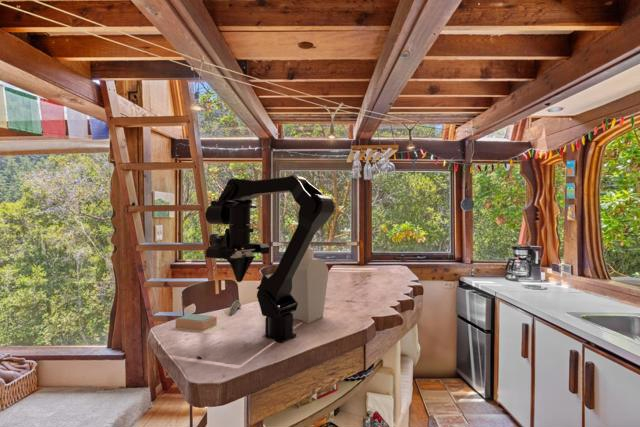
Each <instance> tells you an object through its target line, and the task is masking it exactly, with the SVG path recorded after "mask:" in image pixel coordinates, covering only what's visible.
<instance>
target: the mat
mask: <svg viewBox="0 0 640 427" xmlns="http://www.w3.org/2000/svg"><path fill="white" fill-rule="evenodd" d="M229 325H230V323H225V322H223V323H222V322H217V325H214V326H212V327H210V328H208V329H206V330H204V331H203V330H195V329H186V328H178V327H176V326H175V327H174V328H172V330H176V331H184V332H185V331H186V332H194V333H199V334H200V333H201V334H213V333H215V332H217V331H218V330H221V329H223V328H225V327H227V326H229Z"/></svg>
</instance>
